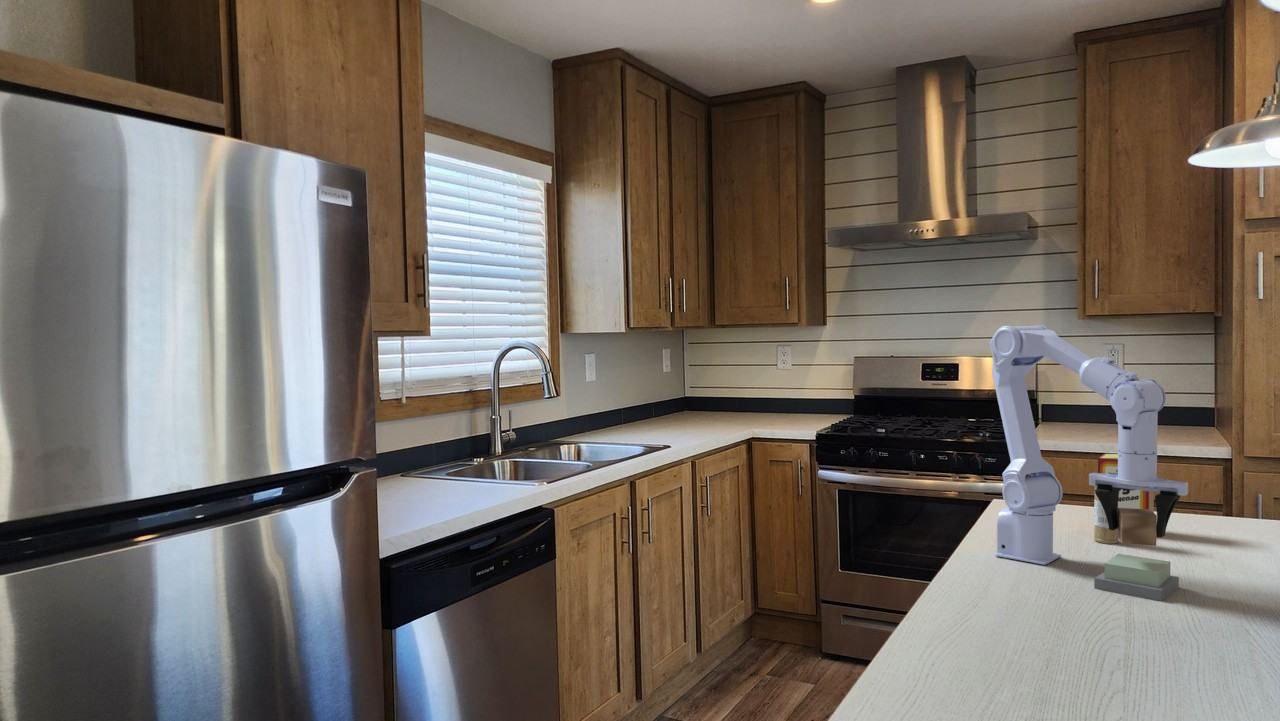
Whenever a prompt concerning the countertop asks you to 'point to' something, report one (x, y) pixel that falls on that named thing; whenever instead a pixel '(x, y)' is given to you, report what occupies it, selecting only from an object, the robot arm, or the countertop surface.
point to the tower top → (1137, 570)
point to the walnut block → (1137, 526)
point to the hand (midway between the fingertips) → (1136, 532)
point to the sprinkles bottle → (1102, 525)
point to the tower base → (1137, 587)
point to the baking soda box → (1126, 496)
